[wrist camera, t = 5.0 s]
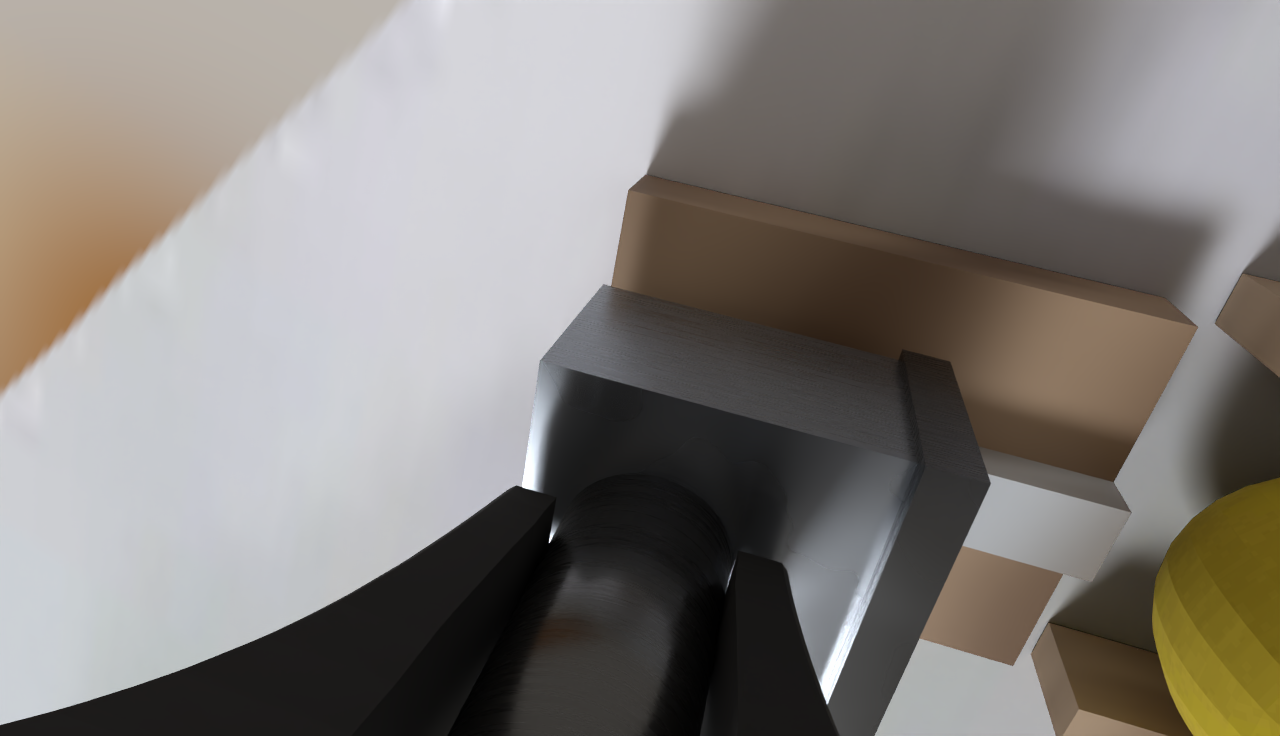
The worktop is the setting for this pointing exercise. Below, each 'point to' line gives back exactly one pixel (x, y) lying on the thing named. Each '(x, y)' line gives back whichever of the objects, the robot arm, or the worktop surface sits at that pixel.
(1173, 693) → the lemon
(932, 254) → the press bed
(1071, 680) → the lemon cradle
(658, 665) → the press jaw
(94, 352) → the worktop surface
